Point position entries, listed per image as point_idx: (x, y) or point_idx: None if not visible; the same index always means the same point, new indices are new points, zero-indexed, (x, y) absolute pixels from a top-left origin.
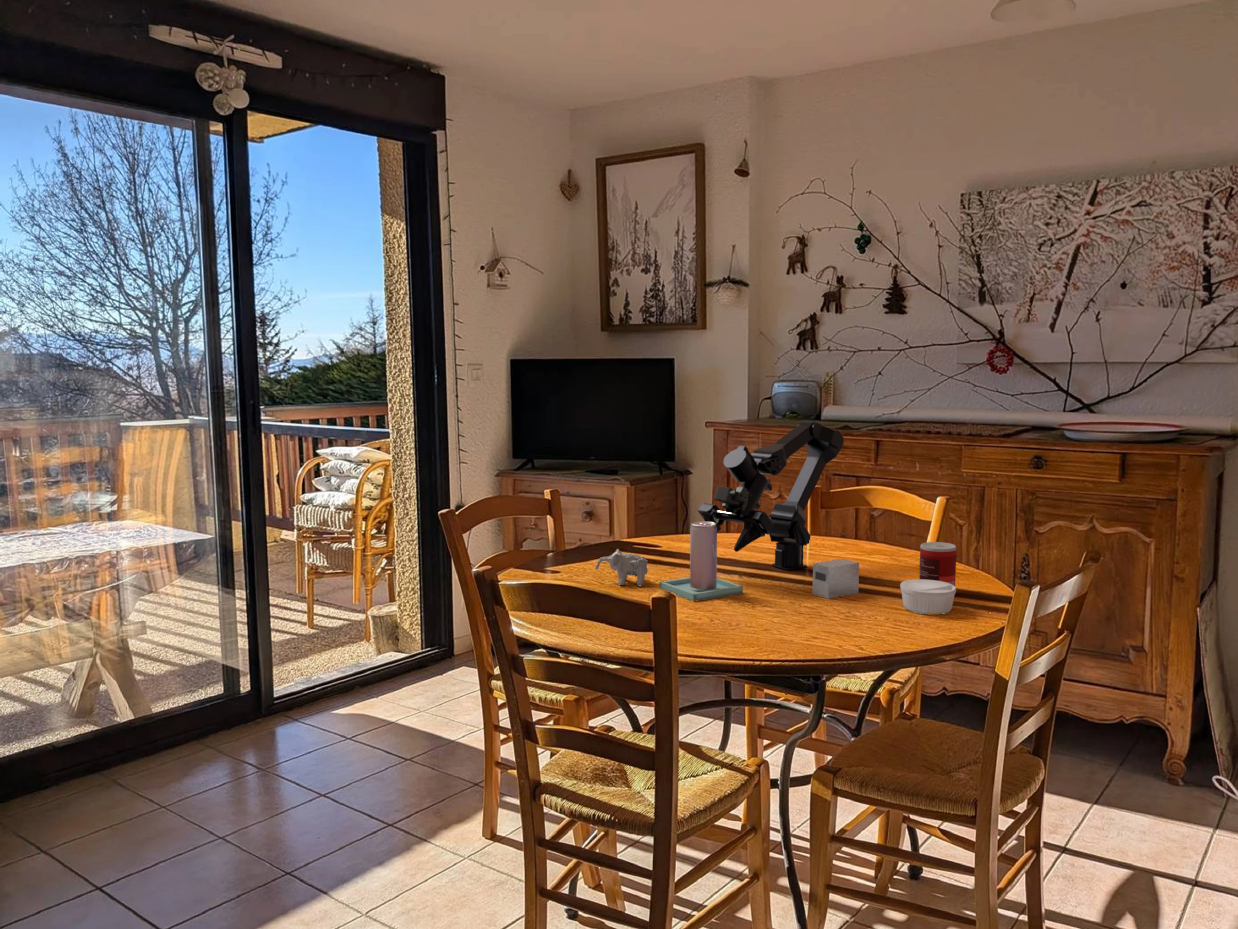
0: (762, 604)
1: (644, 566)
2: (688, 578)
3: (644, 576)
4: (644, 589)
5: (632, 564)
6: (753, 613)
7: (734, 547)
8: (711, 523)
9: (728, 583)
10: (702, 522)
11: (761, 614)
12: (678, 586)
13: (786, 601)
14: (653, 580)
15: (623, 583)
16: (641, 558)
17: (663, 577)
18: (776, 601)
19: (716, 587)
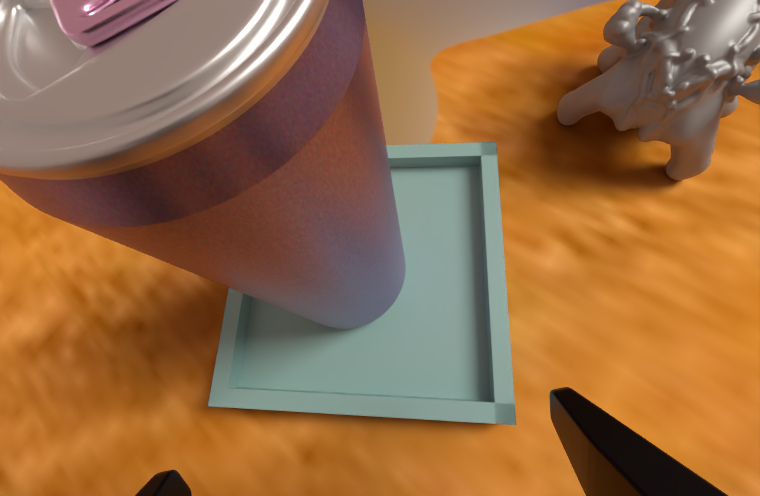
0: (69, 348)
1: (632, 90)
2: (488, 282)
3: (673, 168)
4: (513, 112)
5: (652, 31)
6: (34, 243)
7: (159, 484)
8: (35, 100)
9: (300, 391)
10: (240, 23)
11: (8, 257)
12: (447, 212)
13: (17, 472)
14: (648, 212)
15: (598, 61)
16: (679, 51)
17: (692, 282)
18: (50, 433)
19: (337, 339)
